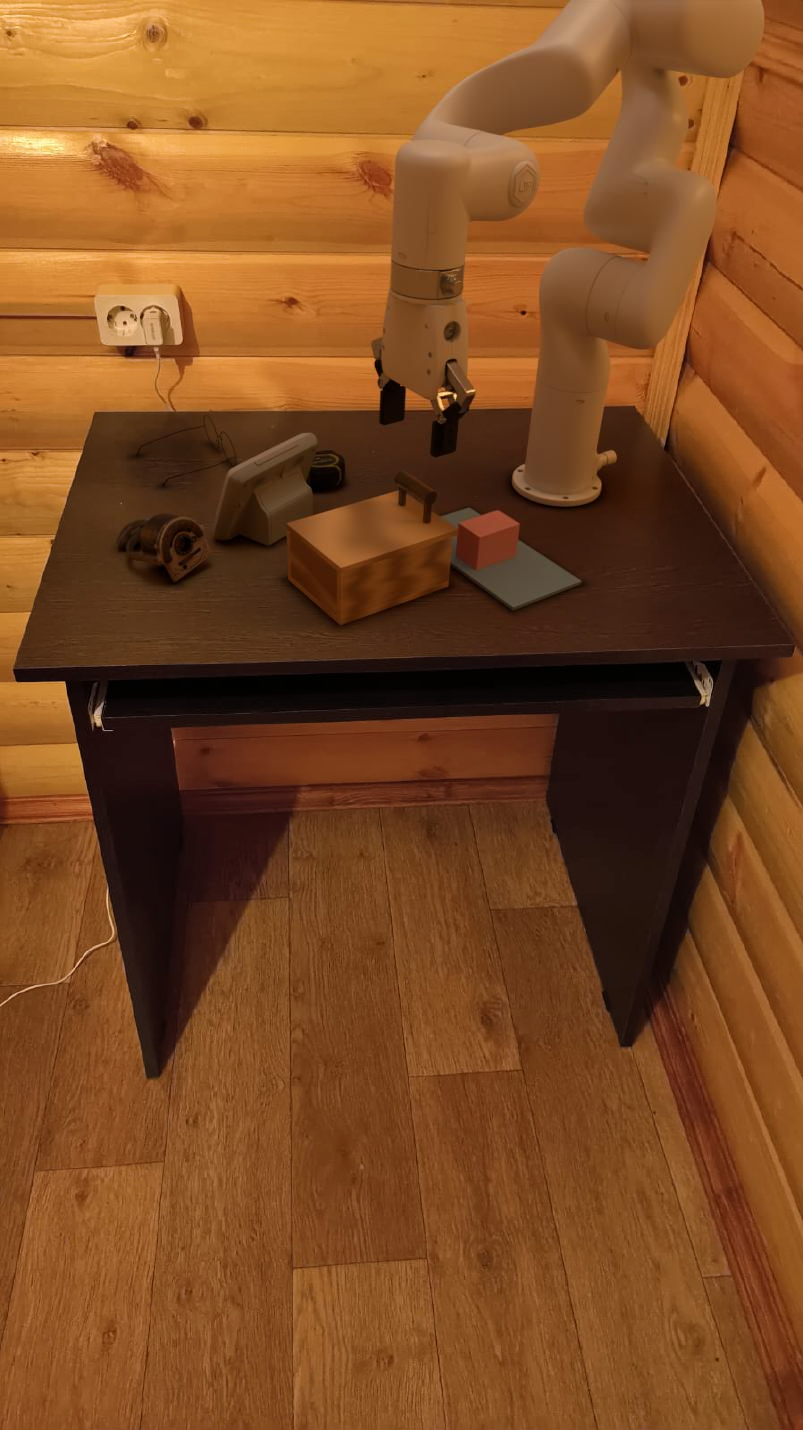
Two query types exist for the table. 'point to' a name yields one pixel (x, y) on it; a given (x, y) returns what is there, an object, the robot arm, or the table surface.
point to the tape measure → (326, 470)
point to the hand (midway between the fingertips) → (416, 437)
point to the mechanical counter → (167, 543)
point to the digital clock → (267, 492)
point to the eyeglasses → (210, 442)
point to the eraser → (487, 539)
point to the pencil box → (368, 579)
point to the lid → (375, 527)
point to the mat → (513, 572)
